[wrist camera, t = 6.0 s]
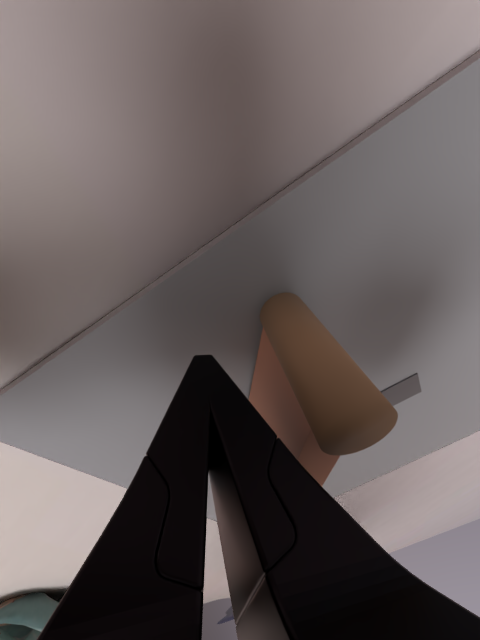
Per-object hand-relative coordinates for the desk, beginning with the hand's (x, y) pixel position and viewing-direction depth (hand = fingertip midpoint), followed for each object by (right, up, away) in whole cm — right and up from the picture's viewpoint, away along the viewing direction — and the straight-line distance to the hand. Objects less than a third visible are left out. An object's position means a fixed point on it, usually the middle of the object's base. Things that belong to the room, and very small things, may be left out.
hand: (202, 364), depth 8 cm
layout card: (+5, -4, +6) cm, 9 cm away
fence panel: (+2, -3, +4) cm, 5 cm away
